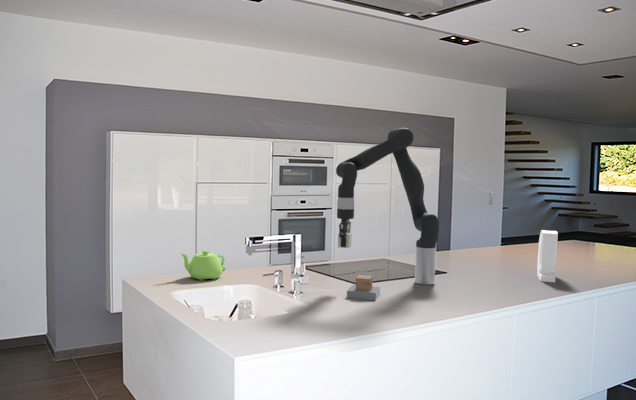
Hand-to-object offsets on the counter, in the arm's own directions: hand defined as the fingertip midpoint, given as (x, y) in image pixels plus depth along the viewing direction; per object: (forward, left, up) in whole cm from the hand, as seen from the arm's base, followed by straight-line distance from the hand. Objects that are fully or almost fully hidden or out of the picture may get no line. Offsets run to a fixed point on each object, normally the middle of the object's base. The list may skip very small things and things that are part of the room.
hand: (344, 245), depth 232 cm
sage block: (0, 0, 0) cm, 0 cm away
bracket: (-62, +93, -19) cm, 113 cm away
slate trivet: (+10, +11, -19) cm, 24 cm away
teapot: (+3, -67, -19) cm, 70 cm away
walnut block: (+10, +11, -16) cm, 22 cm away
